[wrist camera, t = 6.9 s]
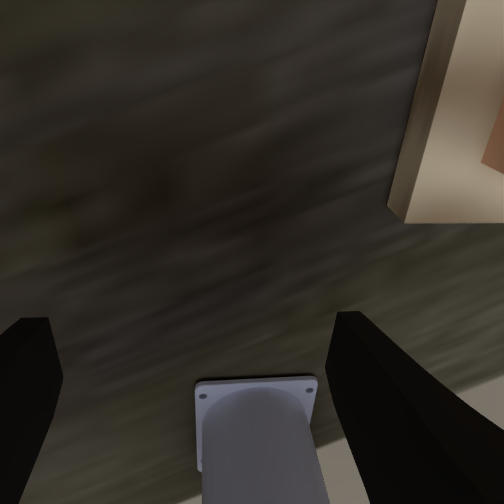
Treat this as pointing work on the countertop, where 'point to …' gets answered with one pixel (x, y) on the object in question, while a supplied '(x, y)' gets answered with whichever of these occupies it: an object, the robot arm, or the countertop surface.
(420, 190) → the base
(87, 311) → the countertop surface
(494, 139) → the block
